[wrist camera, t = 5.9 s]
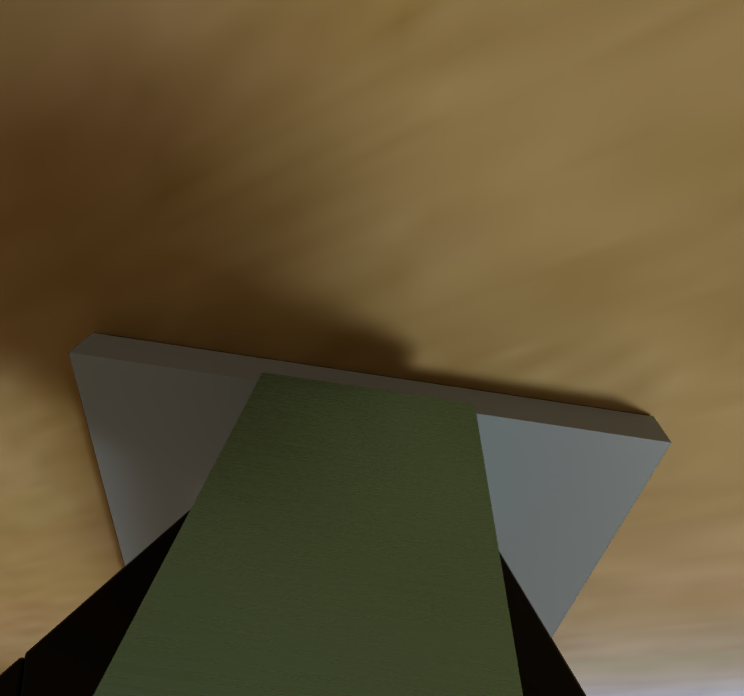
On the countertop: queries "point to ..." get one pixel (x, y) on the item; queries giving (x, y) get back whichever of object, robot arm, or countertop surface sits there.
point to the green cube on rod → (331, 558)
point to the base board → (494, 411)
